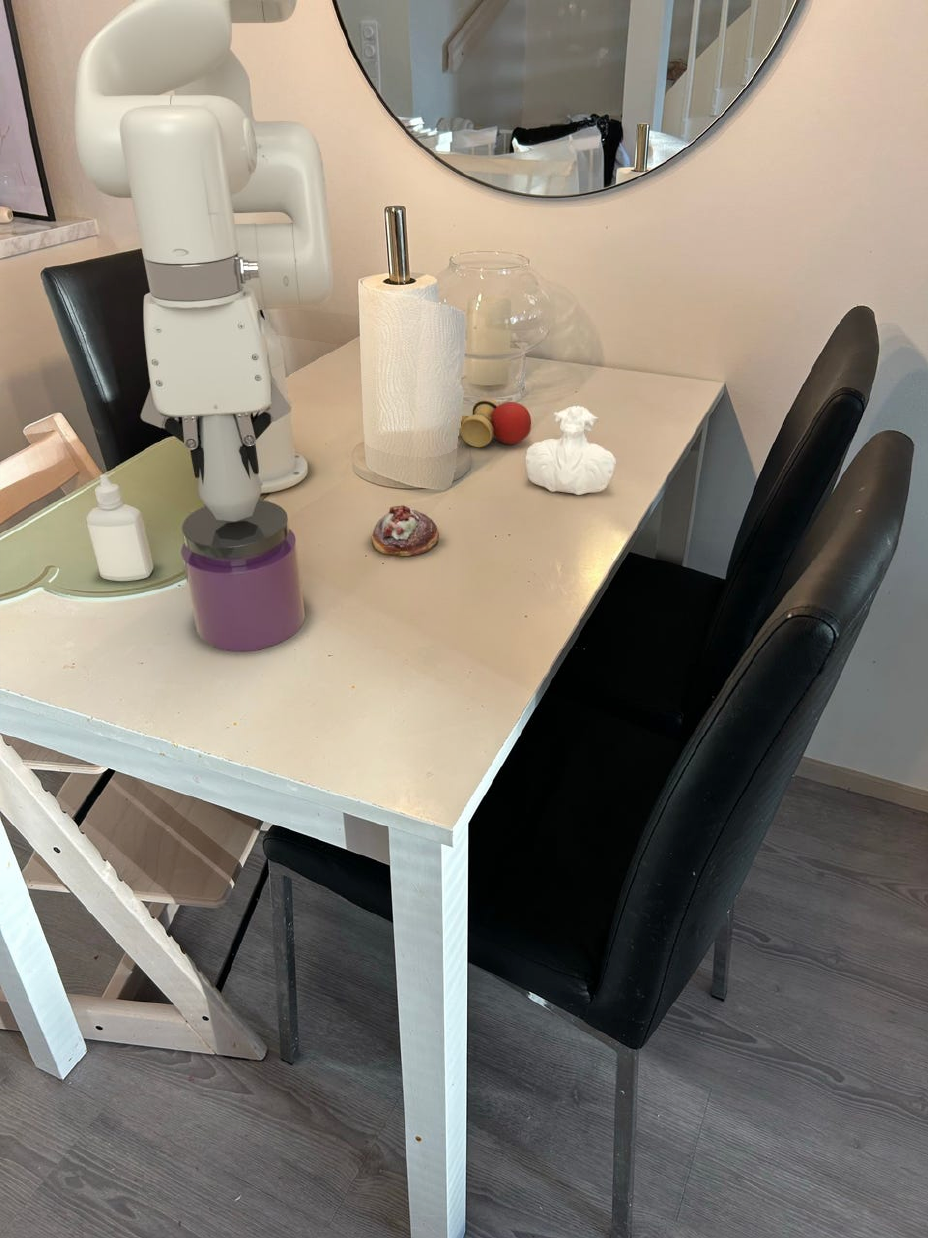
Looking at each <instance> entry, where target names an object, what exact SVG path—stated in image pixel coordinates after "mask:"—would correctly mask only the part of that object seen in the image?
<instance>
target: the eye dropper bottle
mask: <svg viewBox="0 0 928 1238" xmlns="http://www.w3.org/2000/svg"><path fill="white" fill-rule="evenodd" d="M94 494H95V498H96V502H97V506H95V507H93V508H92V509H91V510H90V511H89V512H88V514H87V515H86V519H85V521H86V526H87V531H88V536H89V538H90V539H89V540H90V542H91V546H92V550H93V553H94V558H95V562H96V565H97V569H98V572H99V575H100V577H101V578H102V579H104V580H107V581H113V582H132V581H138V580H139V581H140V580H143V579H147V578H148V577H150V575H151V574H152V573H153V570H154V563H153V558H152V554H151V549H150V546H149V541H148V536H147V531H146V528H145V524H144V520H143V515H142V512H141V511H140V510H139V509H138V508H136V507H134V506H131V505H129V504H125V503H123V500H122V496H121V491H120V486H119V485H118V484H117V483H113V482H111V481H110V479H109V476H108V475H107V474H101V475H100V476H99V485H97V486H96V487H95V488H94Z"/></svg>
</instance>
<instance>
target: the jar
mask: <svg viewBox="0 0 928 1238" xmlns="http://www.w3.org/2000/svg"><path fill="white" fill-rule="evenodd" d="M181 532H182V537H183V544H182V545H181V549H180V555H181V559H182V565H183V569H184V574H185V578H186V583H187V588H188V593H189V598H190V603H191V609H192V612H193V618H194V623H195V627H196V632H197V634H198V636H199V638H200V639H201V640H202V641H203V642H204V643H205V644H208V645H209V646H211V647H212V648H213V647H214V648H216V649H219V650H223V651H229V652H251V651H258V650H263V649H268V648H271V647H273V646H274V647H275V646H276V645H278V644H281V643H283V642H285V641H287V640H288V639H291V637H293V636H294V635H295V634H296V633H297V632H298V631H299V630H300V629H301V628H302V626H303V624H304V621H305V619H306V612H305V604H304V595H303V588H302V580H301V573H300V562H299V555H298V548H297V547H298V546H297V539H296V535H295V533H294V532H293V530H292V529H291V528H290V525H289V516H288V513H287V511H286V510H285V509H284V508H283V507H282V506H281V505H279V504H277V503H275V502H272V501H269V500H264V499H259V500H258V502H257V504H256V507H255V509H254V512H253V515H252V516H250V517H247V518H244V519H241V520H238V521H224V520H217V519H216V518H215V516H214V515H213V513H212V512H211V511H210V510H209V509H208V508H207V506H206V505H205V506H202V507H200V508H198V509H196V510H195V511H192V512H191V513H190V514H189V515H187V517H186V518H185V519H184V521H183V522H182V525H181Z"/></svg>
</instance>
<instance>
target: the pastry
mask: <svg viewBox="0 0 928 1238" xmlns="http://www.w3.org/2000/svg"><path fill="white" fill-rule="evenodd" d="M439 536H440V533H439V530H438V527H437V525H436V523H435V522H434V521H433V519H432V518H431V517H429V516H428V515H426V514H425V513H422V512H421V511H417V510H415V509H411V508H410V507H408V506H406V505H403V504H402V505H394V506H390V507H389V511H388V513H386V514H385V515H383V516H382V517H381V518H380V519H379V520H378V521H377V522H376V524H375V527H374V530H373V533H372V535H371V541H372V543H373V546H374V548H375V550H376V551H377V552H380V554H383V555H390V556H391V555H392V556H398V557H399V556H400V557H411V556H415V555H422V554H425V553H426V552H428V551H430V550H431V549H432V548H434V546H435V545H437V544H438V543H439Z"/></svg>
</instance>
